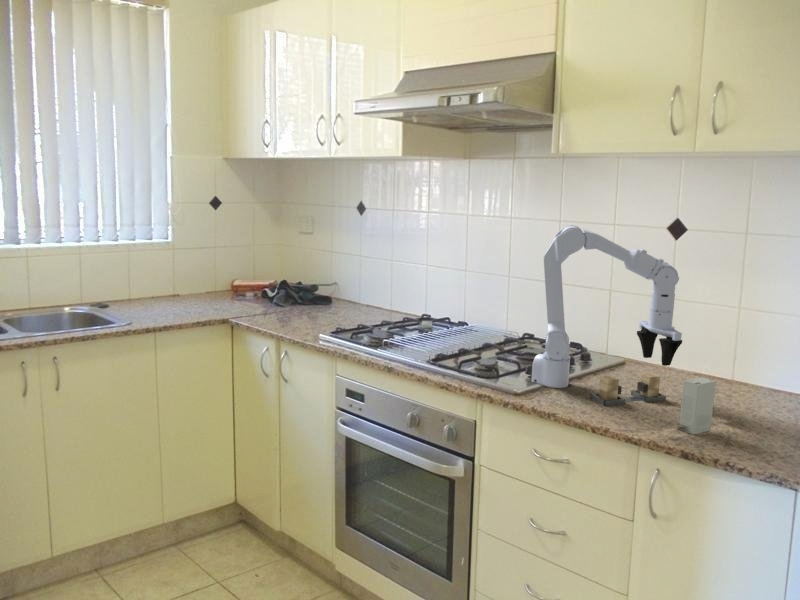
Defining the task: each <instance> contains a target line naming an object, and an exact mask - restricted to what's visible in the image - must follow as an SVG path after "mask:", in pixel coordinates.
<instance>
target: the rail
mask: <svg viewBox="0 0 800 600" xmlns="http://www.w3.org/2000/svg"><path fill="white" fill-rule="evenodd" d="M590 399H591V400H593V401H595V402H597V404H600V405H602V406H604V407H607V406H610V407H611V406H618V405H626V403H630V402H641V401H642V402H643V403H654V402H655V403H656V402H666V400H667V396H666V395H665V394H662V393H660V392H659V395H658V396H652V397H645V396H643V395H641V394H640V391H639V390H637V389H634V390H631V391H630V396H627V397H622V396H619V395H618V396H617V399H616V400H604V399H602V398H600V397H599V392H595V393H590Z"/></svg>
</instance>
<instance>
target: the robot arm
mask: <svg viewBox="0 0 800 600" xmlns="http://www.w3.org/2000/svg"><path fill="white" fill-rule="evenodd" d="M582 248H584V250H586V251H587V250H598V251H600V252H602V253H604V254H606V255H609V256H611V257H613V258H615V259H617V260H620V261H622V262H623V263H624V267H625V269H626V270H628V271H630V272H632V273H634V274H636V275H638V276H640V277H642V278H644V279H646V280H648V281H649V280H652V281H653V282H652V291H651V293H650V294H651V295H650V304H649V314H648V320H641V321H638V329H639V330H637V331H636V335H637V336H638V339H639V342H640V346H641V350H642V356H643V358H644V359H647V358H648V359H649V358H652V356H653V353H654V347H655V342H656V339H657V337H658V335H661V336H663V338H659V339H658V341H659V344H660V349H661V365H662V366H664V367H665V366H671V365H672V361H673V359H674V356H675V355H676V353H677V350H678V349H679V347H680V346H681V345H682V344H683V340H682V334H683V333H682V332H681V331H678V330H677V329H675V326H673V318H674V317H673V316H674V308H675V298H676V294H675V290H676V286H677V284H678V283H679V280H680V276H679V274H678V273H679V272H678V270H677V269H676V268H675V267H674V266H673V265H671V264H669V263H668V262H667V261H665V260H664V259H663V258H656V257H654V256H652V255H651V254H649V253H648V251H647V250H645V249H644V248H641V249H638V248H635V249H631V250H629V249H627V248H624V247H623V246H622V245H620V244H617V243H616V242H614V241H611V240H610V239H608V238H606V237H605V236H602V235H600V234H599V233H597V232H594V231H592V230H588V229H585V228H582V229H581V227H579V226H577V225H573V224H570V225H567V226H565V227H563V228H562V229H561V230H560V231H558V232H557V233H556V235H555V236H554V238H553V240H552V242H551V243H550V245H549V247H548V248H547V250H546V251H545V253H544V255H543V269H544V270H543V271H544V273H543V274H544V286H545V287H544V288H545V302H546V303H545V304H546V318H547V319H546V320H547V335H546V337H545V346H544V347H545V348H544V349H545V351H544V352H543V353H538V354H536V355H535V356H534V359H533V360H532V361H533V362H532V366H531V367H532V368H531V381H530V382H532V383H535V384H539V385H542V386H544V387H548V388H555V389H563V388H567V387H568V386H569V380H570V379H569V378H570V364H571V362H570V361H571V355H570V354H569V353H570V351H571V345H570V337H569V336H568V334H567V331H566V327H565V308H564V293H563V291H564V289H563V288H564V287H563V277H562V276H563V275H562V264H563V262H565V260H567V259H568V258H569V256H571V255H574V254H575V253H577V252H579V251H580V250H581V249H582ZM664 337H665V338H664Z"/></svg>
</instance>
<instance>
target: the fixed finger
mask: <svg viewBox="0 0 800 600" xmlns="http://www.w3.org/2000/svg"><path fill="white" fill-rule="evenodd" d="M619 382H620V380H619V379H618V378H616V377H615V376H612V375H606V376H600V377H599V389H598V390H599V392H598V393H599V397H600V398H602V399H604V400H616V399H617V396H619V395H622V388H623V387H622V386H621V385H619Z"/></svg>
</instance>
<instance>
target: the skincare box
mask: <svg viewBox="0 0 800 600" xmlns="http://www.w3.org/2000/svg"><path fill="white" fill-rule="evenodd" d="M716 385H717V382H716V381H715V380H713V379H710V378H709V379H708V378H705V377H701V376H700V377H695V378H689V379H684V381H683V387H682V396H681V406H680V411H679V412H680V415H679V420H678V421H679V422H678V423H679V424H680V425H682V426H678V429H679V430H680V431H682V430H683V431H682V432H684V431H686V432H685V433H687V432H688V433H687V434H689V433H690V435H697V434H702V433H707V432H710V431H711V427H712V419H713V410H714V401H715V393H716Z"/></svg>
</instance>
